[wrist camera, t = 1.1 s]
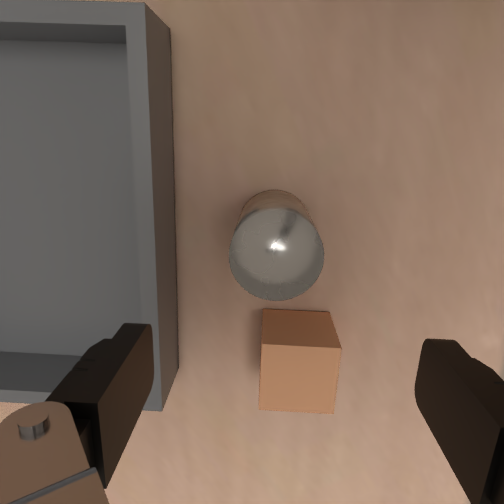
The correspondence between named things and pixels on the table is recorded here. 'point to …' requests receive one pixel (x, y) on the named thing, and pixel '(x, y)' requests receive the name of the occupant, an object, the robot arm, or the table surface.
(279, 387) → the cube
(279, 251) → the cylinder
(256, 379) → the table surface
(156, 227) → the tote
